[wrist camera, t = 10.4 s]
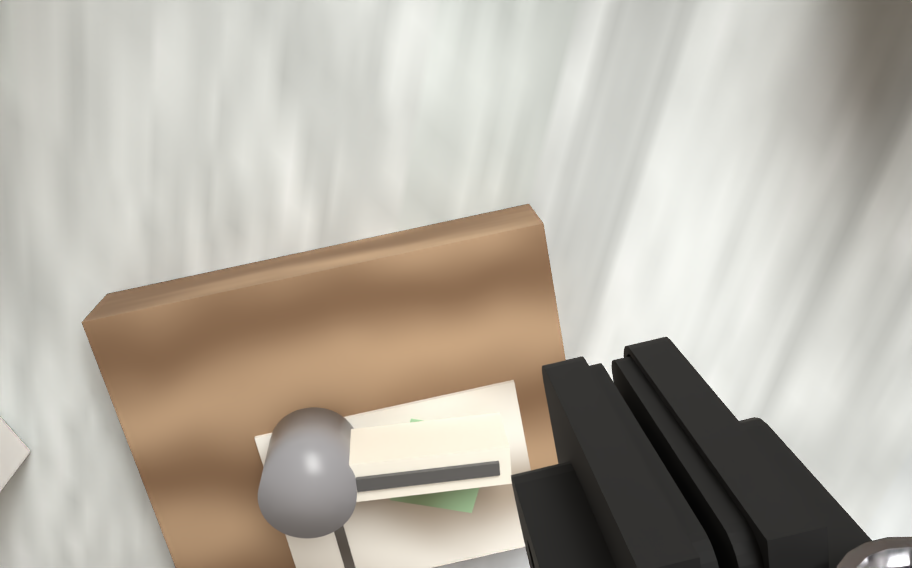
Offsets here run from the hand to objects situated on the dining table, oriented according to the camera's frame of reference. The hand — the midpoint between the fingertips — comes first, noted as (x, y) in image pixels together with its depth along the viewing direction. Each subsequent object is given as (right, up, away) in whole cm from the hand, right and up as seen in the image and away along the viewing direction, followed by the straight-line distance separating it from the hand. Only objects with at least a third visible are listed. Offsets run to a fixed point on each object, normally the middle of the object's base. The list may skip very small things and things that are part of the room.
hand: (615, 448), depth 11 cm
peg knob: (-5, -5, +27) cm, 28 cm away
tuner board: (-7, -4, +30) cm, 31 cm away
